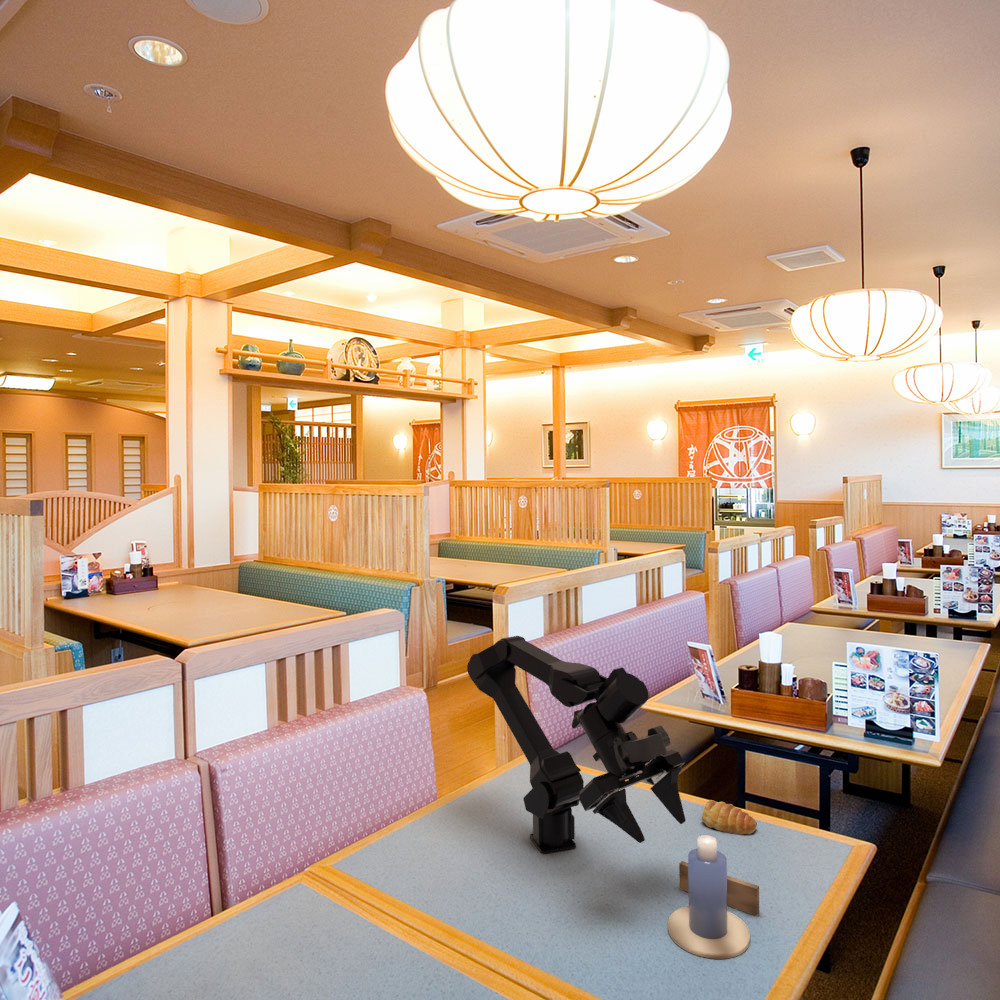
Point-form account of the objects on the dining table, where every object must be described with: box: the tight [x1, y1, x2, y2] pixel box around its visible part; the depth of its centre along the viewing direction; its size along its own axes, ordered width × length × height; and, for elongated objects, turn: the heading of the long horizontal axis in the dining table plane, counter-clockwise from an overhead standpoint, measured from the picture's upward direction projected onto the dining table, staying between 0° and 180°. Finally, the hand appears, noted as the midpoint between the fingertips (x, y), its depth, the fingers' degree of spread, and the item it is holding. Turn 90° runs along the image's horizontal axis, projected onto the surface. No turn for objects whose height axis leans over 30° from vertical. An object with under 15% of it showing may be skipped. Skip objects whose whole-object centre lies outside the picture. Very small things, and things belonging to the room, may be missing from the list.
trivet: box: [667, 905, 751, 960], centre depth 103 cm, size 11×11×1 cm
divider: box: [678, 860, 760, 917], centre depth 111 cm, size 12×1×4 cm, turn 52°
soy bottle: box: [687, 834, 728, 939], centre depth 103 cm, size 5×5×12 cm
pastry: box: [700, 799, 758, 835], centre depth 134 cm, size 9×7×4 cm
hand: (663, 831), depth 109 cm, fingers open, 9 cm apart
